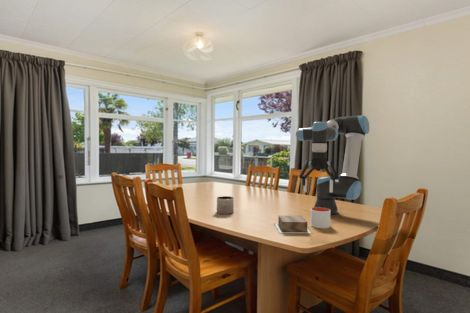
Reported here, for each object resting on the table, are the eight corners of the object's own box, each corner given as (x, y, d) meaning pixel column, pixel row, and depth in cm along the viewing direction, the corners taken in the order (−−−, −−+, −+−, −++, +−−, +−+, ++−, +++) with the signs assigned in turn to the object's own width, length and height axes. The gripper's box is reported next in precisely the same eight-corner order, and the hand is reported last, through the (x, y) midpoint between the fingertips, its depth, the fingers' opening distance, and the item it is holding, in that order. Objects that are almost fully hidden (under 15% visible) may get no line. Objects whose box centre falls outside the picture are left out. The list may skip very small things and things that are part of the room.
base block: (301, 225, 144) (301, 215, 144) (307, 232, 132) (307, 222, 132) (278, 224, 144) (278, 215, 144) (282, 232, 132) (282, 221, 132)
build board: (303, 226, 146) (303, 223, 146) (312, 236, 130) (312, 233, 130) (273, 226, 146) (274, 223, 146) (278, 236, 130) (278, 233, 130)
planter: (213, 213, 173) (213, 198, 173) (221, 209, 183) (221, 195, 183) (229, 215, 169) (229, 199, 168) (236, 211, 179) (236, 196, 179)
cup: (307, 225, 149) (307, 207, 148) (325, 225, 150) (325, 207, 149) (314, 231, 139) (314, 211, 138) (333, 231, 140) (333, 211, 139)
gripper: (340, 151, 147) (339, 191, 148) (293, 151, 147) (293, 190, 148) (345, 152, 139) (344, 193, 140) (296, 151, 140) (296, 192, 140)
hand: (318, 192), depth 144 cm, fingers open, 13 cm apart
